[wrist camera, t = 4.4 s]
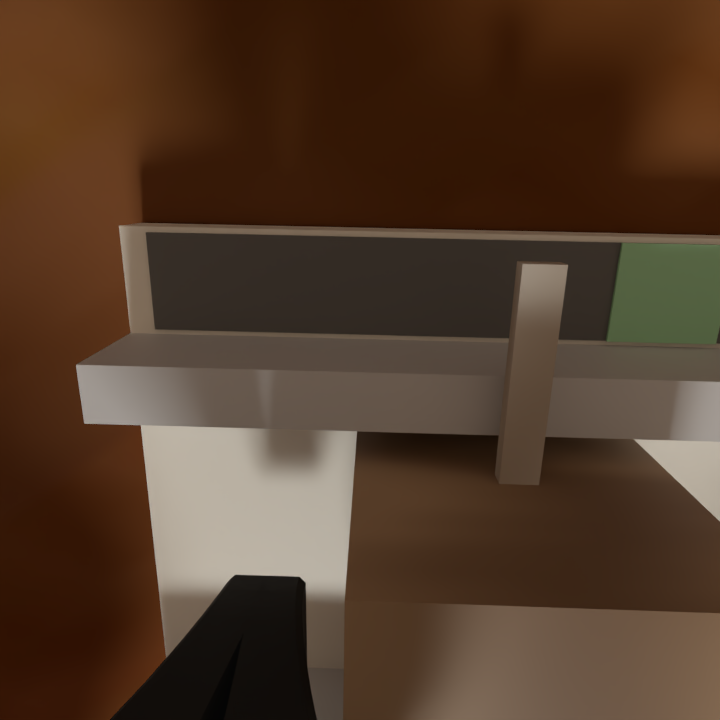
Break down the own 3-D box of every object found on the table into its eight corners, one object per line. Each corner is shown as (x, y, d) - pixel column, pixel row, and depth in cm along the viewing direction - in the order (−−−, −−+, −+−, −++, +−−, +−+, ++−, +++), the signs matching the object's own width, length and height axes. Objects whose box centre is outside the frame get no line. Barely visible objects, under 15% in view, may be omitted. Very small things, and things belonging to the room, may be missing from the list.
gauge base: (189, 719, 15) (70, 1059, 9) (141, 222, 11) (-124, 258, 5) (869, 745, 14) (1200, 1117, 9) (1070, 242, 10) (1920, 304, 5)
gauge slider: (353, 659, 12) (339, 953, 8) (361, 243, 10) (348, 293, 5) (574, 667, 12) (702, 971, 7) (647, 250, 10) (921, 308, 5)
